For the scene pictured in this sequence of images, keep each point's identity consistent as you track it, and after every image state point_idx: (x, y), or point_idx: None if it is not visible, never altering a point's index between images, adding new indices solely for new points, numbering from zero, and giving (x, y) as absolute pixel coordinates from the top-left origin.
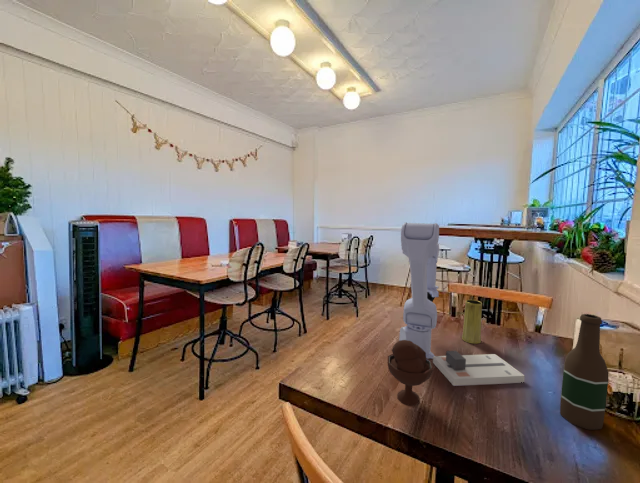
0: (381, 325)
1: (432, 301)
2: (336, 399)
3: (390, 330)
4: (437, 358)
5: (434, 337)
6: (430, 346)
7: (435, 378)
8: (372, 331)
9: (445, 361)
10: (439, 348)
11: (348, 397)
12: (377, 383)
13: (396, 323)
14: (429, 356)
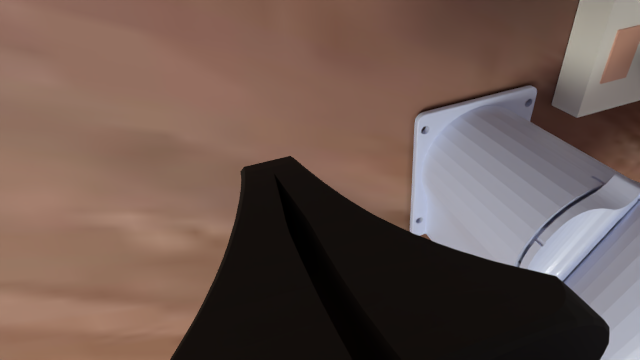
0: (121, 321)
1: (396, 227)
2: None
3: (194, 274)
4: (598, 102)
5: (267, 5)
6: (540, 128)
7: (633, 119)
8: None
9: (632, 70)
10: (437, 25)
11: None
12: None
13: (34, 253)
14: (524, 116)
